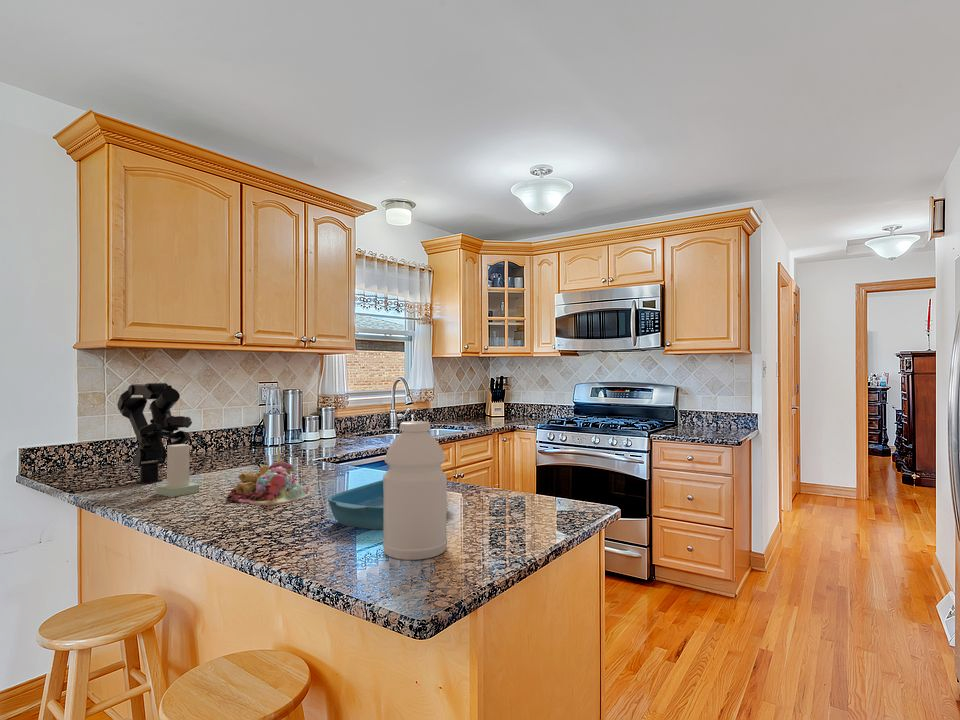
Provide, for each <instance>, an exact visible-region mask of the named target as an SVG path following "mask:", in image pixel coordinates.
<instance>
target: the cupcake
mask: <svg viewBox="0 0 960 720" xmlns="http://www.w3.org/2000/svg"><path fill="white" fill-rule="evenodd" d="M277 450H278V451H277V458H278V459H277V460H278V461H277V462H274V463H273V464H271V465H270V466H269V467H268V468H269V470H270V469H271V468H276V467H280V466H281V467H282V468H285V469H286V473H288V474H289V475H290V471H291V474H293V473H292V472H294V466H293V465H292V464H291V463H290V462H286V461H281V451H280V449H279V448H278V449H277Z"/></svg>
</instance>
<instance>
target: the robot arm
mask: <svg viewBox="0 0 960 720" xmlns="http://www.w3.org/2000/svg"><path fill="white" fill-rule="evenodd" d="M132 396H135V397H132ZM138 396H139V397H138ZM140 396H142V397H140ZM180 396H181V394H180V392H179V391H178V390H177V389H175V388H173V387H172V385H168V382H160V383H159V382H147V383H145V384H142V383H140V384H139V383H138V384H136V383H135V384H133V383H132V384H130V385H129V386H128V388H127V390H125V391H124V392H123V393H122V394H120V396H119V399H118V400H117V405H116V406H117V409H118V411H119V412H120V414H121V415H122V417H125V418H127V419H128V420H129V422H130V424H131V427H132V429H133V431H134V434H135V436H136V439H137V441H138V448H137V451H136V452H135V455H134V458H133V466H135V467H136V466H137V467H139V479H136V480H135V483H140V484H149V483H155V482H162V481H163V479H162V478H159V467H160V466H159V464H166V463H165V462H166V459H167V458H166V457H167V449H166V446H165V445H164V442H163V438H166V439H167V442H168V445H177V444H186V442H188V441H189V440H191V435H190V433H189V432H188V431H185V430H179V429H180V428H181V429H182V428H187V429H188V428H190V427H191V425H192V423H193V421H192V419H191V417H189V416H183V415H181V416H180V415H178V416H174V415H172V413H171V412H172V411H171V409H172V408H174V406H175V404H176V403H177V402H178V401H179V399H180ZM148 400H153V401H152V402H151V403H150V404H149V407H148V410H149V411H150V412H151V417H152V419H150V420H149V422H150V424H148V420H147V419H146V416H145V414H144V412H145V409H146V405H147V404H148V403H147V402H148ZM178 430H179V431H178ZM174 431H175V432H174Z"/></svg>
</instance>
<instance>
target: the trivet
mask: <svg viewBox="0 0 960 720" xmlns="http://www.w3.org/2000/svg"><path fill="white" fill-rule="evenodd" d="M197 493H200V484H199V483H193V482H190V481H189V485H187V486H180V487H173V488H172V487H170V486H167V484H163V485H162V484H161V485H157V486H156V495H159V496H163V495H164V496H163V497H167V496H168V498H175V496H176V497H181V496H185V495H191V494H197ZM180 495H181V496H180Z"/></svg>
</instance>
